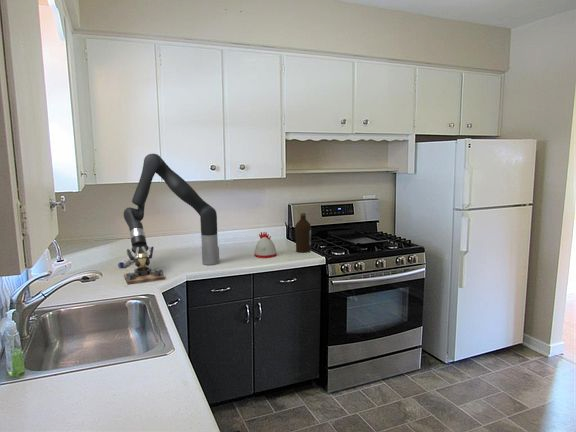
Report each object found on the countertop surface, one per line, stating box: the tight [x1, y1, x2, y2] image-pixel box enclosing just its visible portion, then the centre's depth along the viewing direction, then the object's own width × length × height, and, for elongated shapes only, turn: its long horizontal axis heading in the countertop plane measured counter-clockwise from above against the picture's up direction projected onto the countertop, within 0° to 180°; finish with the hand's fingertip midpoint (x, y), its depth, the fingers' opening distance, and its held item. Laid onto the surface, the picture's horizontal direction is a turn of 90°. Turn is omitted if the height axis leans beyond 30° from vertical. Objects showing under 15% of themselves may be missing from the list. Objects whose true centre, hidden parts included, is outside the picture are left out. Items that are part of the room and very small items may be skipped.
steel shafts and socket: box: [126, 266, 164, 280], centre depth 213 cm, size 18×13×3 cm
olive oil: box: [294, 212, 312, 254], centre depth 268 cm, size 11×11×25 cm
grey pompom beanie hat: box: [253, 231, 277, 259], centre depth 259 cm, size 14×14×15 cm
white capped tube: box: [117, 252, 135, 269], centre depth 245 cm, size 5×7×25 cm
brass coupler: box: [137, 252, 148, 271], centre depth 215 cm, size 5×5×10 cm
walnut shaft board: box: [123, 269, 166, 286], centre depth 213 cm, size 18×16×2 cm
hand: (143, 265), depth 213 cm, fingers closed on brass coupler, 4 cm apart
